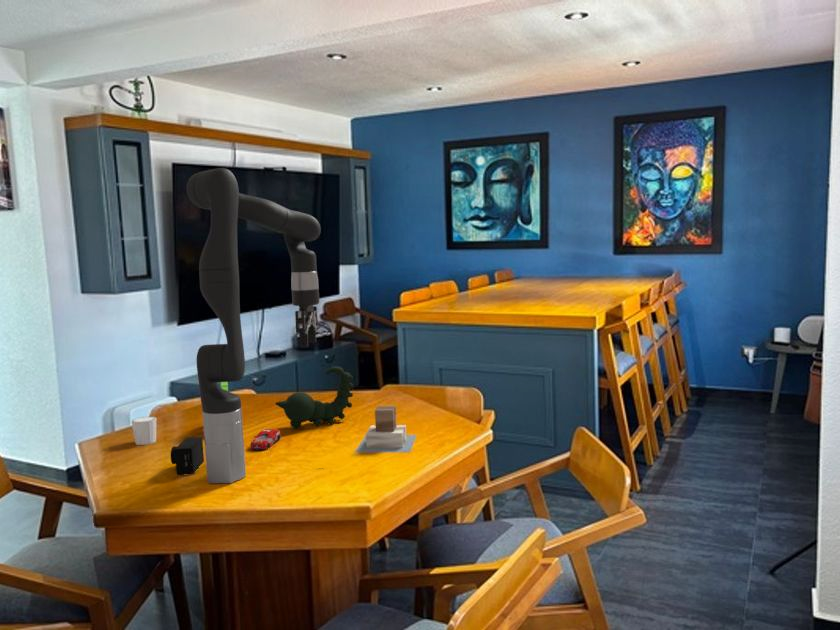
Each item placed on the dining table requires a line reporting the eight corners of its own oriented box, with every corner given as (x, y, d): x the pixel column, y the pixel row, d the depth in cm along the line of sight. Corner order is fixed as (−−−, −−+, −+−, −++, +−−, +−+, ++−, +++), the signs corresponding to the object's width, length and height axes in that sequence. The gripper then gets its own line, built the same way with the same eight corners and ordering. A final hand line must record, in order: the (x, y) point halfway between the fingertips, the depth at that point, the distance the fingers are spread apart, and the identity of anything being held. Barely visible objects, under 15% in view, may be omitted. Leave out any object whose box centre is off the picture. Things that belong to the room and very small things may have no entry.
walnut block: (393, 431, 190) (392, 410, 190) (375, 431, 191) (374, 410, 190) (396, 426, 195) (395, 405, 194) (379, 426, 196) (378, 405, 195)
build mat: (410, 454, 185) (410, 452, 185) (354, 454, 186) (354, 452, 186) (416, 436, 200) (416, 434, 200) (365, 437, 202) (365, 435, 202)
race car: (265, 452, 192) (264, 438, 192) (247, 452, 193) (246, 438, 193) (284, 438, 205) (283, 425, 204) (266, 438, 206) (265, 425, 206)
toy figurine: (343, 420, 228) (269, 426, 215) (345, 363, 227) (271, 366, 214) (355, 427, 220) (279, 433, 207) (357, 367, 219) (281, 370, 206)
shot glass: (162, 441, 206) (160, 418, 205) (139, 447, 201) (137, 423, 200) (151, 437, 210) (149, 415, 210) (129, 442, 206) (127, 419, 205)
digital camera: (183, 462, 185) (181, 437, 184) (204, 461, 185) (202, 436, 185) (171, 476, 175) (169, 449, 174) (193, 474, 175) (191, 447, 174)
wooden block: (402, 447, 189) (402, 433, 188) (366, 447, 190) (365, 433, 189) (406, 438, 197) (405, 425, 196) (371, 439, 198) (371, 425, 197)
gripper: (311, 289, 187) (314, 348, 189) (324, 285, 202) (327, 341, 203) (284, 290, 188) (287, 349, 190) (299, 286, 202) (302, 341, 204)
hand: (308, 345), depth 197 cm, fingers open, 8 cm apart
